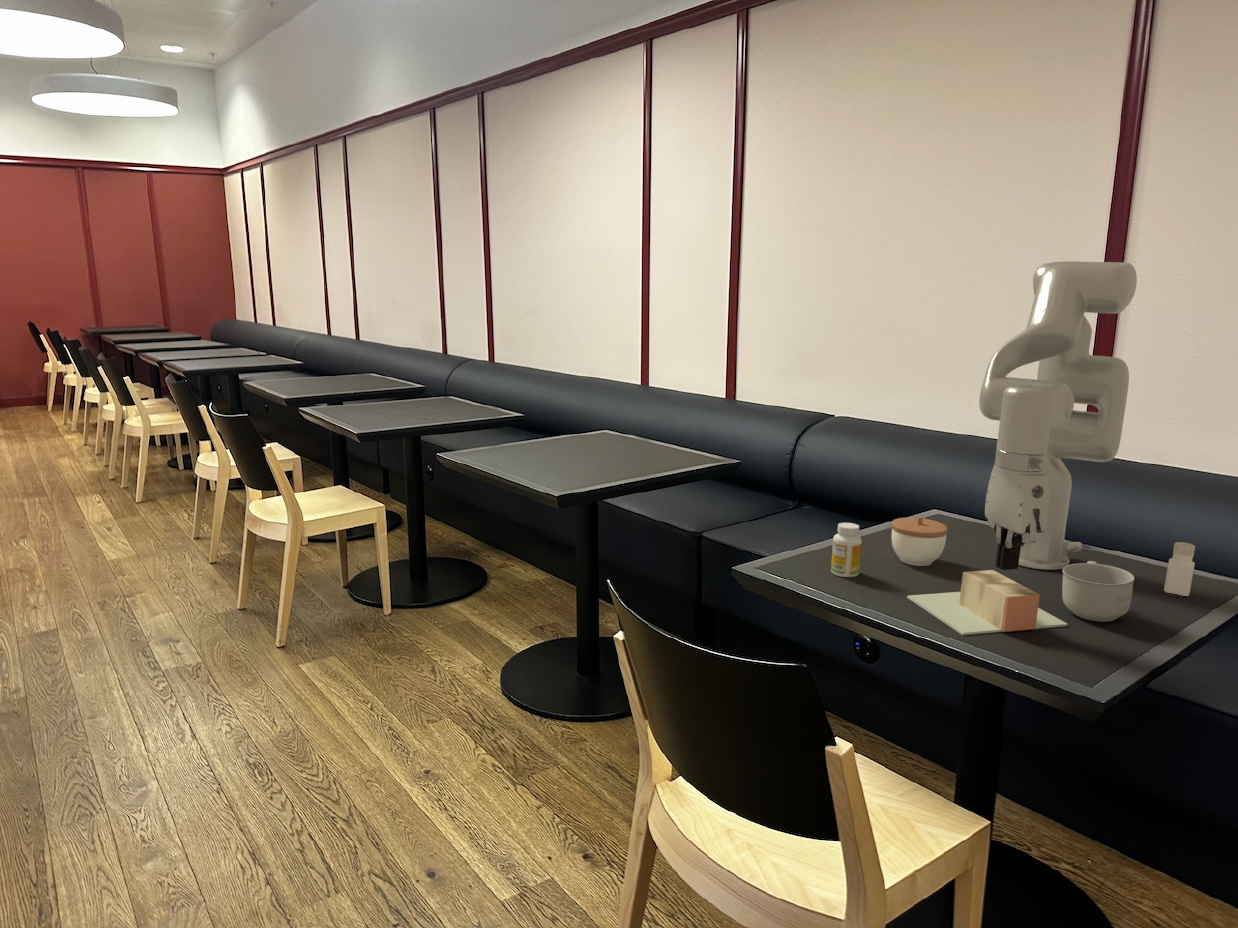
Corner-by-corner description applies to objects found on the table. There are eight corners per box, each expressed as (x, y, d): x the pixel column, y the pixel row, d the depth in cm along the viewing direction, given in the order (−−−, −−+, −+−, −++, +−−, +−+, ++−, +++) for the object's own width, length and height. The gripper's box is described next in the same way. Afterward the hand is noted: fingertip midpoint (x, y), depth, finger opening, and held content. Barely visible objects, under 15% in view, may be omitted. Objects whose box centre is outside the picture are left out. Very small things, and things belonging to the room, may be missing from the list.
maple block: (1035, 628, 142) (988, 601, 154) (1040, 594, 141) (992, 569, 152) (1003, 631, 141) (959, 604, 152) (1008, 597, 140) (963, 572, 151)
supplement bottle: (856, 569, 170) (860, 522, 168) (861, 578, 165) (865, 530, 163) (828, 567, 171) (832, 520, 169) (832, 577, 166) (836, 528, 164)
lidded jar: (912, 549, 183) (917, 507, 181) (955, 564, 174) (960, 520, 172) (877, 557, 178) (881, 513, 176) (919, 573, 169) (923, 527, 167)
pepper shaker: (1164, 587, 164) (1172, 539, 162) (1189, 592, 162) (1198, 544, 160) (1163, 593, 161) (1171, 545, 159) (1188, 598, 159) (1197, 549, 156)
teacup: (1126, 633, 143) (1133, 587, 141) (1053, 618, 148) (1060, 574, 146) (1129, 606, 154) (1136, 564, 152) (1062, 593, 160) (1068, 552, 158)
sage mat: (1003, 590, 161) (1003, 588, 160) (1067, 625, 145) (1067, 623, 145) (907, 597, 156) (907, 595, 156) (962, 635, 140) (962, 632, 140)
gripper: (1073, 471, 134) (1057, 582, 138) (1009, 450, 148) (996, 552, 152) (1032, 472, 132) (1017, 585, 137) (971, 452, 147) (959, 554, 151)
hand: (1006, 567), depth 144 cm, fingers closed
